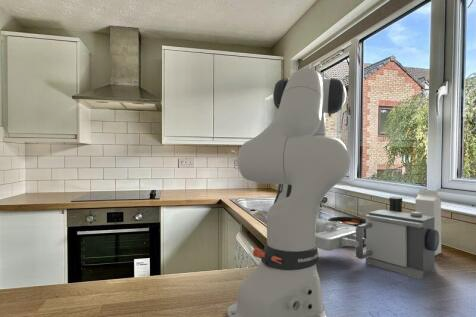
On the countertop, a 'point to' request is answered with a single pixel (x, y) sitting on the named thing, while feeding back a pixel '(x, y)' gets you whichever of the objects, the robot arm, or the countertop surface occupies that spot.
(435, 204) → the milk
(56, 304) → the countertop surface
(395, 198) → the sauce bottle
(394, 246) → the side door
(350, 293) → the countertop surface
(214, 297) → the countertop surface
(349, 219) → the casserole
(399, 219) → the camera case
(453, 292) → the countertop surface
